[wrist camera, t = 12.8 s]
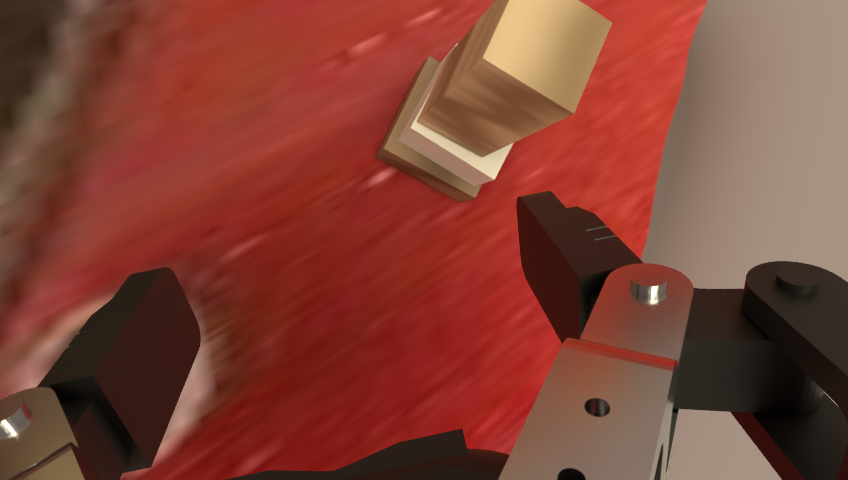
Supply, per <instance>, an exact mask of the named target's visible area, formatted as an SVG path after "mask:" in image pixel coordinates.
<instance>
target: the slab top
mask: <svg viewBox="0 0 848 480" xmlns="http://www.w3.org/2000/svg"><path fill="white" fill-rule="evenodd" d="M457 45H458V43H457V44H456V45H455V46H454V47H453V48H452V50H453V49H454V48H455V47H456V46H457ZM452 50H451V51H450V52H449V53H448V54H447V56H446V57H445V58H444V59H443V60H442V62H441V63H440V64H439V66H438V68H437V70H436V72H435V73H434V75H433V77H432V79H431V81H430V82H429V84H428V86H427V88H426V90H425V92H424V93H423V95H422V97H421V99H420V101H419V102H418V104H417V106H416V108H415V110H414V111H413V113H412V115H411V117H410V119H409V121H408V122H407V124H406V126H405V128H404V130H403V131H402V133H401V135H400V137H399V139H398V140H399V141H401V142H402V143H404V144H406V145H407V146H409V147H411V148H412V149H414V150H415V151H417V152H419V153H420V154H422V155H424V156H425V157H427V158H429V159H430V160H432V161H433V162H435V163H437V164H438V165H440V166H442V167H443V168H445V169H447V170H448V171H450V172H451V173H453V174H455V175H456V176H458V177H460V178H461V179H463V180H465V181H466V182H468V183H469V184H471V185H473V186H477V185H480V184H483V183H486V182H489V181H492V180H495V178H496V176H497V174H498V172H499V170H500V168H501V166H502V164H503V162H504V160H505V158H506V156H507V155H508V153H509V151H510V149H511V147H512V145H513V143H512V144H510V145H508V146H506V147H503V148H501V149H499V150H497V151H495V152H493V153H491V154H489V155H487V156H485V157H483V158H481V157H480V156H478V155H476V154H474V153H472V152H471V151H469V150H467V149H465V148H463V147H462V146H460V145H458V144H456V143H454V142H453V141H451V140H449V139H447V138H445V137H444V136H442V135H440V134H438V133H436V132H435V131H433V130H431V129H429V128H427V127H426V126H424V125H422V124H420V123H418V122H417V120H418V118H419V116H420V114H421V112H422V110H423V107H424V105H425V103H426V101H427V99H428V97H429V95H430V93H431V90H432V88H433V86H434V84H435V82H436V80H437V78H438V76H439V74H440V71H441V69H442V67H443V65H444V63H445V61H446V59H447V57H448V55H449V54H450V53H451V52H452Z"/></svg>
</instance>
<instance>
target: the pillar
mask: <svg viewBox="0 0 848 480" xmlns="http://www.w3.org/2000/svg"><path fill="white" fill-rule="evenodd" d="M611 25H612V22H610V21H609V20H607V19H606V18H604V17H603V16H601V15H600V14H599V13H597V12H596V11H594V10H593V9H591V8H590V7H588V6H587V5H585V4H584V3H582V2H581V1H579V0H495V1H494V2H493V3H492V5H491V6H490V7H489V8H488V9H487V10H486V12H485V13H484V14H483V15H482V16H481V18H480V19H479V20H478V21H477V22H476V23H475V25H474V26H473V27H472V28H471V29H470V30H469V32H468V33H467V34H466V35H465V36H464V38H463V39H462V40H461V41H460V42H459V43H458V45H457V46H456V47H455V48H454V49H453V50H452V52H451V53H450V54H449V55H448V57H447V59H446V61H445V63H444V65H443V67H442V69H441V71H440V74H439V76H438V78H437V80H436V82H435V84H434V86H433V88H432V90H431V93H430V95H429V97H428V99H427V101H426V103H425V105H424V107H423V110H422V112H421V114H420V116H419V118H418V120H417V122H418V123H420V124H422V125H424V126H426V127H427V128H429V129H431V130H433V131H435V132H436V133H438V134H440V135H442V136H444V137H445V138H447V139H449V140H451V141H453V142H454V143H456V144H458V145H460V146H462V147H463V148H465V149H467V150H469V151H471V152H472V153H474V154H476V155H478V156H480V157H481V158H483V157H485V156H487V155H489V154H491V153H493V152H495V151H497V150H499V149H501V148H503V147H506V146H508V145H510V144H512V143H514V142H516V141H518V140H520V139H522V138H524V137H526V136H528V135H531V134H533V133H535V132H537V131H539V130H541V129H543V128H545V127H547V126H549V125H551V124H554V123H556V122H558V121H560V120H562V119H564V118H566V117H568V116H570V115H572V114H574V112H575V110H576V108H577V105H578V103H579V100H580V98H581V96H582V93H583V91H584V89H585V86H586V84H587V81H588V79H589V77H590V74H591V72H592V70H593V67H594V65H595V63H596V60H597V58H598V55H599V53H600V51H601V48H602V46H603V44H604V41H605V39H606V36H607V34H608V32H609V29H610V27H611Z"/></svg>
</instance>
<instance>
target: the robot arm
mask: <svg viewBox="0 0 848 480" xmlns="http://www.w3.org/2000/svg"><path fill="white" fill-rule="evenodd" d="M517 219H518V231H519V243H520V255H521V262H522V267H523V271H524V274H525V277H526V280H527V282H528V284H529V285H530V287H531V289H532V291H533V293H534V294H535V296H536V298H537V300H538V301H539V303H540V305H541V307H542V309H543V310H544V312H545V314H546V316H547V318H548V319H549V321H550V323H551V325H552V326H553V328H554V330H555V332H556V334H557V335H558V337H559V339H560V341H561V343H562V346H561V348H560V350H559V353H558V355H557V357H556V359H555V361H554V363H553V365H552V367H551V369H550V372H549V374H548V376H547V378H546V380H545V382H544V384H543V386H542V388H541V390H540V393H539V395H538V397H537V399H536V401H535V403H534V405H533V407H532V409H531V411H530V414H529V416H528V418H527V420H526V422H525V424H524V426H523V428H522V430H521V433H520V435H519V437H518V439H517V441H516V443H515V445H514V447H513V449H512V451H511V454H510V455H508V454H504V453H500V452H496V451H489V450H482V449H467V447H466V443H465V439H464V435H463V431H462V429H459V430H454V431H450V432H445V433H440V434H436V435H431V436H426V437H422V438H417V439H413V440H408V441H403V442H399V443H397V444H395V445H392V446H390V447H388V448H386V449H383V450H381V451H379V452H377V453H374V454H372V455H370V456H368V457H365V458H363V459H361V460H359V461H356V462H354V463H352V464H350V465H347V466H345V467H343V468H341V469H338V470H335V471H272V470H268V471H264V472H259V473H254V474H250V475H245V476H240V477H236V478H231V479H226V480H667V478H668V472H669V467H670V462H671V456H672V451H673V445H674V440H675V435H676V430H677V424H678V419H679V414H680V409H693V410H711V411H729V412H731V413H732V415H733V416H734V417H735V419H736V420H737V421H738V422H739V424H740V425H741V426H742V428H743V429H744V430H745V431H746V433H747V434H748V436H749V437H750V438H751V439H752V441H753V442H754V443H755V445H756V446H757V447H758V448H759V450H760V451H761V453H762V454H763V455H764V456H765V458H766V459H767V460H768V462H769V463H770V464H771V466H772V467H773V468H774V469H775V471H776V472H777V473H778V475H779V476H780V477H781V479H782V480H848V282H846V281H845V280H843V279H842V278H841V277H839V276H837V275H836V274H834V273H832V272H830V271H828V270H825V269H823V268H820V267H817V266H813V265H809V264H804V263H799V262H788V261H776V262H768V263H764V264H760V265H758V266H755V267H754V268H752V269H751V270H750V271H749V272H748V273H747V275H746V281H745V287H744V289H698V288H693V285H692V283H691V281H690V280H689V279H688V278H687V277H686V276H685V275H684V274H682V273H681V272H679V271H677V270H675V269H672V268H670V267H666V266H663V265H657V264H649V263H643V262H642V261H641V260H640V259H639V258H638V257H637V256H636V255H635V254H634V253H633V252H632V251H631V250H630V249H629V248H628V247H627V246H626V245H625V244H624V243H623V242H622V241H621V240H620V239H619V238H618V237H615V234H614V233H613V232H612V231H611V230H610V229H609V228H606V225H605V224H604V223H603V222H602V221H601V220H600V219H599V218H598V217H597V216H596V215H595V214H593V213H591V212H589V211H586V210H584V209H582V208H579V207H577V206H576V207H571V208H567V209H566V207H565V206H564V205H563V204H562V203H561V202H560V201H559V200H558V199H557V197H556V196H555V195H554V194H553V193H552V192H551V191H546V192H541V193H536V194H531V195H526V196H521V197H518V198H517ZM79 333H80V334H79V335H76V336H75V338H74V339H73V340H72V342H71V343H70V344H69V348H67V349H66V350H65V351H64V352H63V354H62V355H61V356H60V358H59V359H58V360H57V362H56V363H55V364H54V365H53V367H52V368H51V369H50V371H49V372H48V373H47V375H46V376H45V377H44V379H43V380H42V381H41V383H40V384H39V385H38V387H36V388H31V389H26V390H23V391H20V392H18V393H15V394H13V395H10V396H8V397H6V398H4V399H2V400H0V480H120V477H121V475H122V473H126V472H130V471H135V470H140V469H144V468H149V467H151V466H152V463H153V461H154V458H155V456H156V454H157V451H158V449H159V446H160V444H161V441H162V439H163V436H164V434H165V431H166V429H167V426H168V424H169V422H170V419H171V417H172V414H173V412H174V409H175V407H176V404H177V402H178V399H179V397H180V395H181V392H182V390H183V387H184V385H185V382H186V380H187V377H188V375H189V372H190V370H191V368H192V365H193V363H194V360H195V358H196V355H197V353H198V350H199V347H200V341H201V337H200V329H199V325H198V322H197V320H196V318H195V315H194V313H193V311H192V309H191V307H190V305H189V303H188V301H187V298H186V296H185V294H184V292H183V290H182V288H181V286H180V284H179V282H178V279H177V277H176V275H175V274H174V272H173V271H172V270H171V269H170V268H167V267H164V268H159V269H154V270H149V271H144V272H139V273H134V274H131V275H130V276H129V277H128V278H127V280H126V281H125V282H124V284H123V285H122V286H121V288H120V289H119V290H118V292H117V293H116V295H115V296H114V297H113V299H112V300H110V301H109V302H108V303H107V304H105V305H104V306H103V307H102V308H100V309H99V310H98V311H97V312H95V313H94V314H93V315H91V317H90V318H89V319H88V321H87V322H86V323H85V325H84V326H83V327H82V329H81V330H80V331H79ZM824 392H825V393H826V394H828V395H829V396H830V397H831V398H832V399H833V400H834V401H835V403H836V404H837V405H838V406H839V407H838V406H837V405H836V404H835V403H834V402H833V401H832V400H831V399H830V398H829V397H828V396H827V395H826V394H825V393H824Z"/></svg>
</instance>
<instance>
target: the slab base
mask: <svg viewBox="0 0 848 480" xmlns="http://www.w3.org/2000/svg"><path fill="white" fill-rule="evenodd" d="M439 64H440V62H438V61H437V60H435V59H433V58H432V57H430V56H429V57H428V58H427V59H426V61H425V62H424V63H423V65H422V66H421V67H420V69H419V70H418V71H417V73H416V75H415V77H414V79H413V81H412V83H411V85H410V87H409V89H408V91H407V93H406V95H405V97H404V99H403V101H402V103H401V105H400V107H399V110H398V112H397V114H396V116H395V118H394V120H393V122H392V124H391V126H390V128H389V130H388V132H387V134H386V136H385V138H384V140H383V142H382V144H381V146H380V148H379V150H378V152H377V154H376V156H375V157H376V158H378V159H380V160H382V161H384V162H386V163H387V164H389V165H391V166H393V167H395V168H397V169H399V170H401V171H402V172H404V173H406V174H408V175H410V176H412V177H414V178H416V179H417V180H419V181H421V182H423V183H425V184H427V185H429V186H431V187H432V188H434V189H436V190H438V191H440V192H442V193H444V194H446V195H447V196H449V197H451V198H453V199H455V200H457V201H459V202H462V201H466V200H470V199H474V198H476V196H477V194H478V192H479V189H480V187H481V185H482V184H480V185H477V186H473V185H471V184H469V183H468V182H466V181H465V180H463V179H461V178H460V177H458V176H456V175H455V174H453V173H451V172H450V171H448V170H447V169H445V168H443V167H442V166H440V165H438V164H437V163H435V162H433V161H432V160H430V159H429V158H427V157H425V156H424V155H422V154H420V153H419V152H417V151H415V150H414V149H412V148H411V147H409V146H407V145H406V144H404V143H402V142H401V141H399V140H398V139H399V137H400V135H401V133H402V131H403V130H404V128H405V126H406V124H407V122H408V121H409V119H410V117H411V115H412V113H413V111H414V110H415V108H416V106H417V104H418V102H419V101H420V99H421V97H422V95H423V93H424V92H425V90H426V88H427V86H428V84H429V82H430V81H431V79H432V77H433V75H434V73H435V72H436V70H437V68H438V66H439Z"/></svg>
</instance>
